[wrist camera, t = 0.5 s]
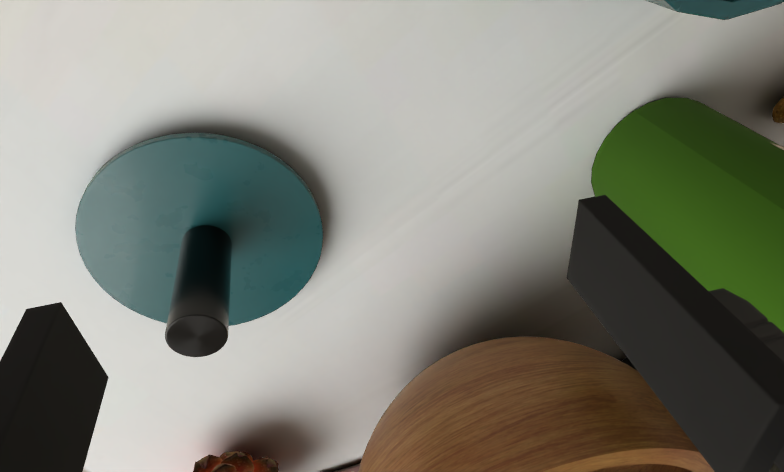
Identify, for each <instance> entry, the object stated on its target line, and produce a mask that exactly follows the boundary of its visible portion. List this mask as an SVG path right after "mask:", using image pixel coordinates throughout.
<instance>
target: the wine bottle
mask: <svg viewBox="0 0 784 472" xmlns="http://www.w3.org/2000/svg"><path fill="white" fill-rule="evenodd" d="M591 183H592V187H593V190H594V194H595V197H597V196H602V195H606V196H607V197H608V198H609V199H610V200H611V201H613V202H614V203H615V204H616V205H617V206H618V207H619V208H620V209H621V210H622V211H623V212H624V213H625V214H626V215H628V216H629V217H630V218H631V219H632V220H633V221H634V222H635V223H636V224H637V225H638V226H639V227H640V228H641V229H642V230H644V231H645V232H646V233H647V234H648V235H649V236H650V237H651V238H652V239H653V240H654V241H655V242H656V243H657V244H659V245H660V246H661V247H662V248H663V249H664V250H665V251H666V252H667V253H668V254H669V255H670V256H671V257H672V258H673V259H675V260H676V261H677V262H678V263H679V264H680V265H681V266H682V267H683V268H684V269H685V270H686V271H687V272H688V273H690V274H691V275H692V276H693V277H694V278H695V279H696V280H697V281H698V282H699V283H700V284H701V285H702V286H703V287H704V288H706V289H707V290H708V291H712V290H716V289H721V288H724V289H726V290H728V291H730V292H731V293H733V294H735V295H737V296H739V297H741V298H743V299H745V300H747V301H748V302H749V303H751V304H752V305H753V306H754V307H755V308H756V309H757V310H759V311H760V312H761V313H762V314H763V315H764V316H765V317H766V318H768V319H767V320H768V322H772V323H773V324H774V325H776V326H777V327H778V328H779V329H780V330H781V331H782V332H784V147H782V146H780V145H778V144H777V143H775V142H773V141H771V140H769V139H767V138H766V137H764V136H762V135H760V134H758V133H756V132H754V131H753V130H751V129H749V128H747V127H745V126H743V125H742V124H740V123H738V122H736V121H734V120H732V119H730V118H729V117H727V116H725V115H723V114H721V113H719V112H717V111H716V110H714V109H712V108H710V107H708V106H706V105H705V104H703V103H701V102H698V101H695V100H692V99H689V98H663V99H660V100H656V101H653V102H650V103H647V104H645V105H644V106H642V107H640V108H638V109H636V110H635V111H633V112H631V113H630V114H629V115H628V116H626V117H625V118H624V119H623V120H622V121H620V122H619V123H618V124H617V125H616V126H615V127H614V129H613V130H612V131H611V132H610V133H609V134H608V136H607V137H606V138H605V140H604V141H603V143H602V145H601V147H600V148H599V150H598V152H597V154H596V157H595V160H594V163H593V167H592V177H591ZM783 334H784V333H783Z"/></svg>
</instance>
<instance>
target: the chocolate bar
mask: <svg viewBox="0 0 784 472" xmlns="http://www.w3.org/2000/svg"><path fill="white" fill-rule="evenodd" d="M359 467H360V464H357V465H354V466H351V467H347V468H344V469H341V470H338V471H334V472H358V471H359Z"/></svg>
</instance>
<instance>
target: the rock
mask: <svg viewBox="0 0 784 472" xmlns="http://www.w3.org/2000/svg"><path fill="white" fill-rule="evenodd" d="M772 117H773V120H774V122H776V123H784V97H783V98H782V99H781V100H780V101H779V102H778V103H777V104H776V105H775V107H774V109H773V113H772Z"/></svg>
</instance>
